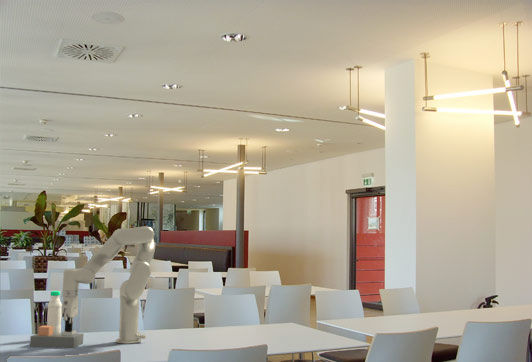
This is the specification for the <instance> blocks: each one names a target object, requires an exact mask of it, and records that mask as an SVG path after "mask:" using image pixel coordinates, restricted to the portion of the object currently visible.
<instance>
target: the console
mask: <svg viewBox="0 0 532 362" xmlns="http://www.w3.org/2000/svg"><path fill="white" fill-rule="evenodd" d="M29 338H30V339H29V340H30V341H29V342H30V343H29V347H31V348H33V347H34V348H61V349H63V348H64V349H65V348H69V349H70V348H71V349H74V348H76V347H79V346H81V345H83V344H84V333H82V332H81V333H77V332H76V335H74V336H62V332H61V333H53V334H52V335H49V336H41V335H38V333H36V334H33V335H30V337H29Z"/></svg>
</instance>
